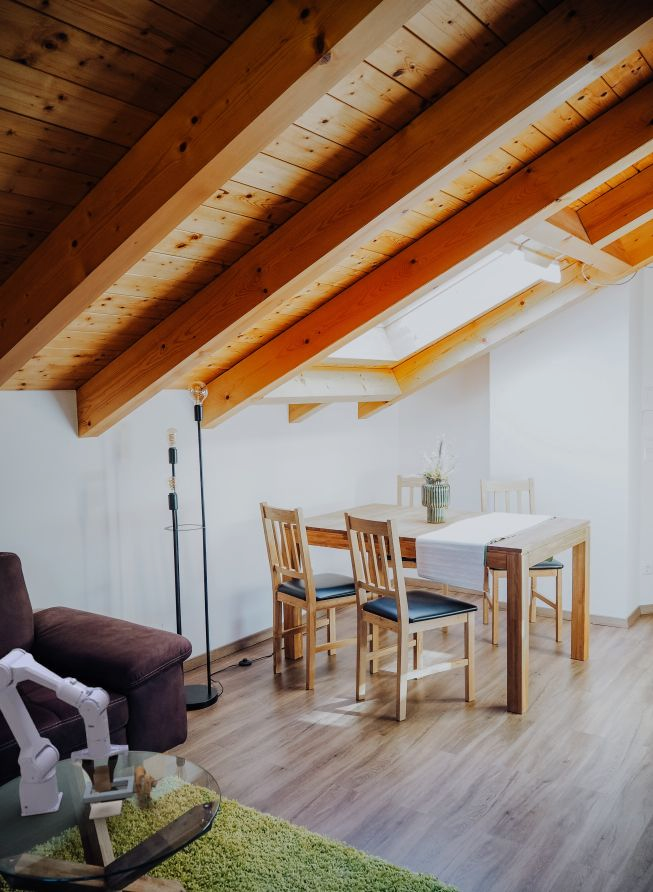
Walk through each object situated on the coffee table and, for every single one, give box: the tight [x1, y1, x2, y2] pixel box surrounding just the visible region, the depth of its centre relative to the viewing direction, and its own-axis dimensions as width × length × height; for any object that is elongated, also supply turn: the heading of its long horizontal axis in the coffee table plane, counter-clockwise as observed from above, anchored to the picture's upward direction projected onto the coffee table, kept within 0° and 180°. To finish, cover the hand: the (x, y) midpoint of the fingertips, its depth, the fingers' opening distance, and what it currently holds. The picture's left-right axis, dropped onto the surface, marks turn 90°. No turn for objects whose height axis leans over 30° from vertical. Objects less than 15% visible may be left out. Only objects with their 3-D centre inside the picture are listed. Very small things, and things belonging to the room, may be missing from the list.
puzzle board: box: [82, 775, 135, 804], centre depth 213 cm, size 13×8×2 cm, turn 98°
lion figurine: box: [133, 765, 159, 806], centre depth 211 cm, size 15×5×9 cm, turn 32°
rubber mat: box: [89, 799, 123, 820], centre depth 206 cm, size 8×6×1 cm
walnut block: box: [93, 764, 112, 793], centre depth 204 cm, size 4×4×5 cm
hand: (103, 781), depth 204 cm, fingers closed on walnut block, 4 cm apart
